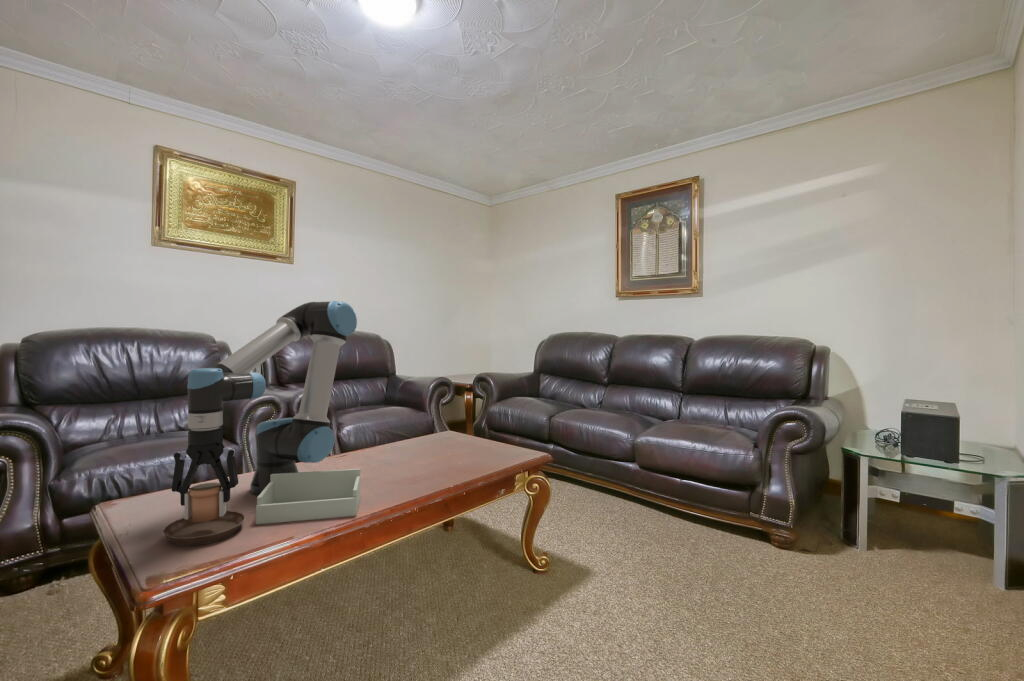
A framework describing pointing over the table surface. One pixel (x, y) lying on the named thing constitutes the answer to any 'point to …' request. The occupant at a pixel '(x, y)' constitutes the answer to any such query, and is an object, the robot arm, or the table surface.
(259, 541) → the table surface
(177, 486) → the robot arm
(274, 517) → the frame
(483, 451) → the table surface
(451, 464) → the table surface
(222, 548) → the table surface
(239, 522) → the plant saucer
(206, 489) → the terracotta pot
